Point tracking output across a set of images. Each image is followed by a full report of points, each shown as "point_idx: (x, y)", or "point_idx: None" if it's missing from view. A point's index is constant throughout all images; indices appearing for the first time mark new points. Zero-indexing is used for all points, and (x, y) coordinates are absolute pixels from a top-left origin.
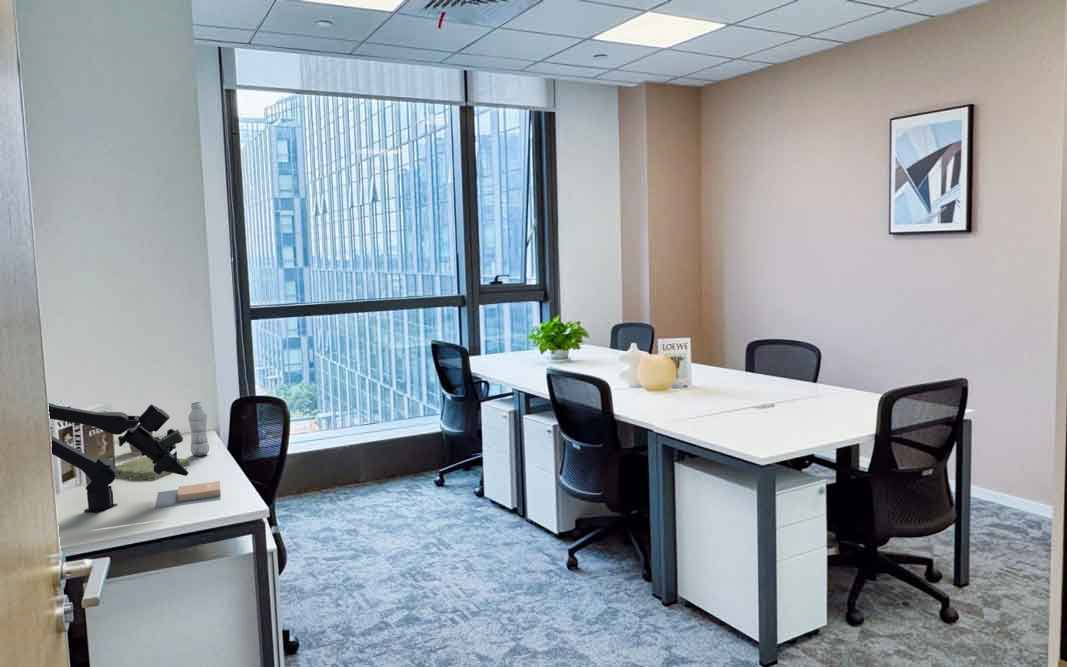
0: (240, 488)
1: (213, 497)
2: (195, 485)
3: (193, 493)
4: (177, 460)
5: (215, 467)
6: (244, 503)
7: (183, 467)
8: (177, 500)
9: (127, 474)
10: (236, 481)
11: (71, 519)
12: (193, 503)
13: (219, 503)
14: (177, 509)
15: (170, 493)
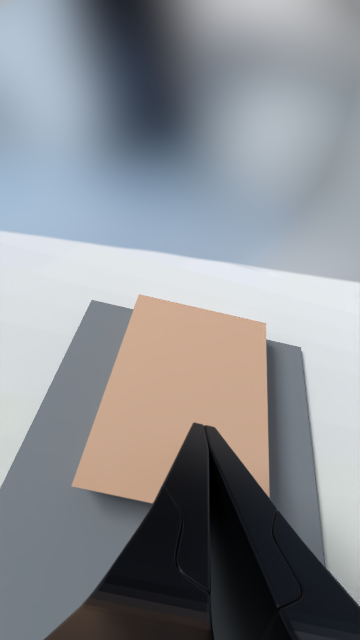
0: (187, 269)
1: None
2: (129, 391)
3: (266, 430)
4: (209, 599)
5: None
6: (349, 303)
7: (208, 466)
8: None
9: None
10: (94, 255)
11: None
12: (310, 446)
13: (325, 358)
14: (356, 538)
15: (51, 540)
